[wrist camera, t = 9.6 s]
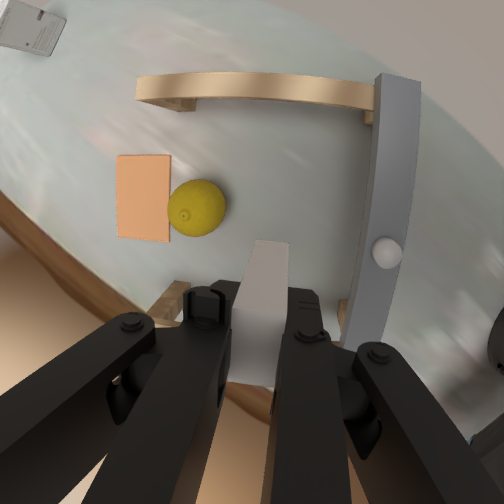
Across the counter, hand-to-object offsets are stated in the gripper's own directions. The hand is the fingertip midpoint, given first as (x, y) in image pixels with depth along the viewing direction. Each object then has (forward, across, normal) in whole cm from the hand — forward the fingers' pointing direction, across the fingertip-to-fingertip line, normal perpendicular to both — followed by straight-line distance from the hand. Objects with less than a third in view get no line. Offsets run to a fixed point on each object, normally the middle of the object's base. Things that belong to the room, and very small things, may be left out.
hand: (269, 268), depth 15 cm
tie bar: (+9, -8, +1) cm, 12 cm away
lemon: (+20, +8, +1) cm, 22 cm away
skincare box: (+21, +34, -22) cm, 46 cm away
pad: (+20, +16, +1) cm, 26 cm away
